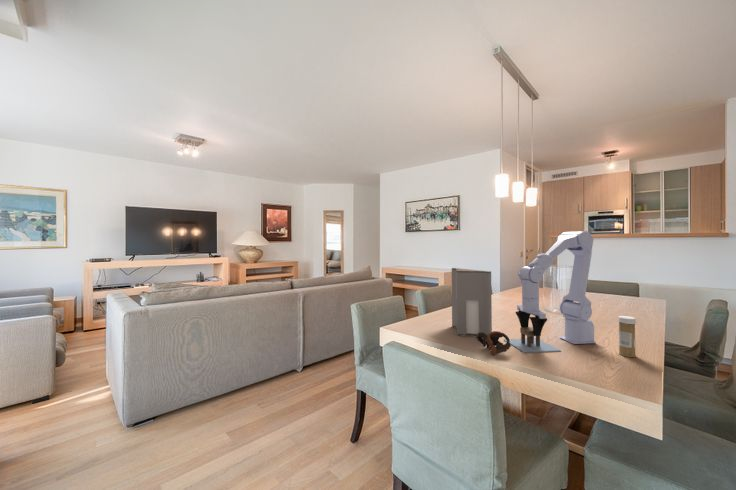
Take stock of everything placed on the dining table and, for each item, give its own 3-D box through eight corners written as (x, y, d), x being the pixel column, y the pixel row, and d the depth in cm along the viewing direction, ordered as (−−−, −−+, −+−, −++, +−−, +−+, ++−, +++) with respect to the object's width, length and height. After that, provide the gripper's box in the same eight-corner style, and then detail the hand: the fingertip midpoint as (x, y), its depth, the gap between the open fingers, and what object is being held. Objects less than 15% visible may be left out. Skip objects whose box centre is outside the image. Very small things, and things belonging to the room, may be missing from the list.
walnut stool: (532, 342, 118) (532, 326, 118) (540, 346, 113) (540, 330, 113) (520, 342, 117) (520, 327, 117) (528, 347, 112) (528, 331, 112)
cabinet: (491, 338, 125) (491, 271, 124) (476, 342, 120) (475, 272, 119) (454, 326, 143) (454, 267, 142) (439, 329, 138) (438, 269, 138)
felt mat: (536, 339, 122) (536, 338, 122) (561, 351, 109) (561, 350, 109) (503, 340, 121) (503, 339, 121) (524, 353, 107) (524, 351, 107)
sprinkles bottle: (639, 356, 103) (639, 318, 102) (629, 358, 102) (628, 319, 101) (625, 352, 107) (625, 315, 107) (615, 353, 106) (615, 315, 106)
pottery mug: (510, 349, 112) (514, 334, 108) (504, 368, 106) (508, 352, 102) (478, 336, 118) (481, 321, 114) (470, 353, 112) (473, 338, 108)
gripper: (510, 294, 122) (510, 327, 122) (532, 301, 107) (532, 339, 107) (526, 294, 122) (526, 327, 122) (551, 301, 108) (551, 338, 108)
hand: (530, 332), depth 115 cm, fingers open, 7 cm apart
